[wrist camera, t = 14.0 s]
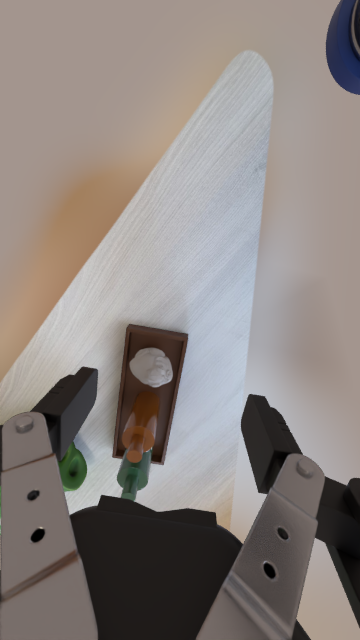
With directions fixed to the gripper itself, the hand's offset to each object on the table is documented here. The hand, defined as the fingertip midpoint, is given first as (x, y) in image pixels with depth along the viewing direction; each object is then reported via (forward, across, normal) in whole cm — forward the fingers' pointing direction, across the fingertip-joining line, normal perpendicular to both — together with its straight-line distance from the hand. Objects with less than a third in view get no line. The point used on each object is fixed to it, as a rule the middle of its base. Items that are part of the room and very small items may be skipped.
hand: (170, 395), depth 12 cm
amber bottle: (+26, +3, +22) cm, 34 cm away
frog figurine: (+27, +3, +12) cm, 30 cm away
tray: (+27, +3, +21) cm, 34 cm away
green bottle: (+26, +3, +30) cm, 40 cm away
